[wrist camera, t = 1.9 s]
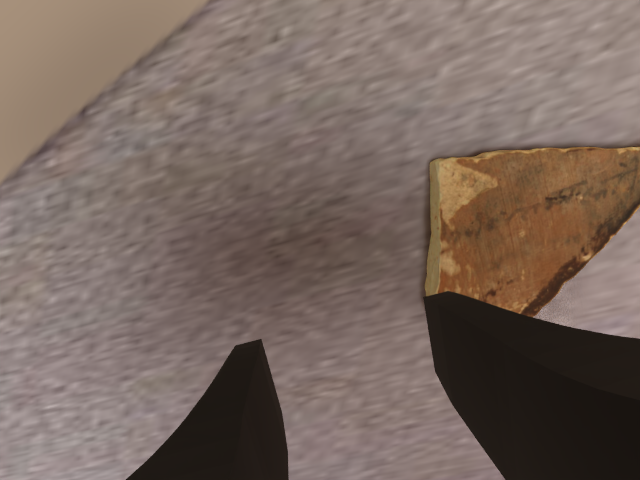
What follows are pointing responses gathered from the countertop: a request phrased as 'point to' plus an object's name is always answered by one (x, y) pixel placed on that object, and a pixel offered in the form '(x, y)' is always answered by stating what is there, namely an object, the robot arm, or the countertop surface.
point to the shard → (525, 220)
